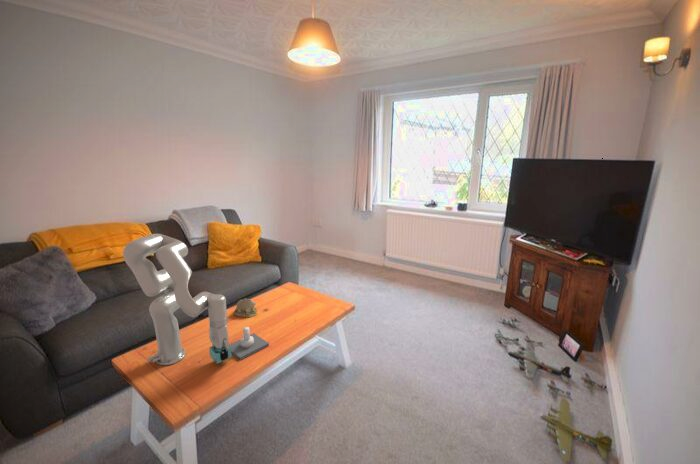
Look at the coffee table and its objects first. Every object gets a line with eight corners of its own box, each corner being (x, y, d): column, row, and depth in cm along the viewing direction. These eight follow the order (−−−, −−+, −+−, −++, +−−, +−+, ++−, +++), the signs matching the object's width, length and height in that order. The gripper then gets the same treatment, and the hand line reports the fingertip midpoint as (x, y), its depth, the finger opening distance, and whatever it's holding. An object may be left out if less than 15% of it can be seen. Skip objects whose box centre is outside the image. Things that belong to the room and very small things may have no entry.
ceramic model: (259, 308, 201) (258, 294, 199) (255, 317, 190) (254, 302, 188) (237, 309, 200) (236, 294, 198) (231, 318, 189) (230, 302, 187)
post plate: (240, 360, 150) (238, 340, 147) (225, 348, 159) (224, 330, 156) (268, 345, 162) (267, 327, 159) (254, 335, 171) (252, 318, 168)
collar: (217, 363, 143) (216, 354, 142) (210, 356, 148) (209, 347, 147) (231, 356, 149) (230, 347, 147) (224, 350, 153) (223, 341, 152)
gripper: (201, 317, 147) (204, 351, 151) (219, 332, 136) (222, 367, 140) (217, 312, 152) (219, 344, 156) (235, 325, 141) (237, 360, 145)
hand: (220, 355), depth 148 cm, fingers closed on collar, 7 cm apart
